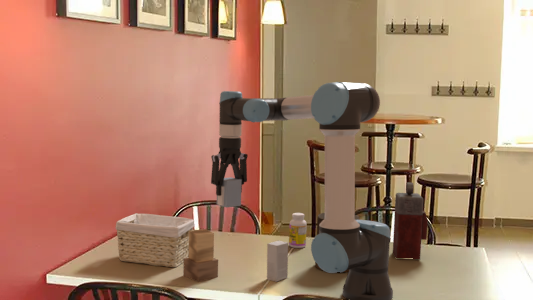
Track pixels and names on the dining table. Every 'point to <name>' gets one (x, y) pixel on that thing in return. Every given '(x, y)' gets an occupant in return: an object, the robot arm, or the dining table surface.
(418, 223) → the red square decanter
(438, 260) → the dining table surface
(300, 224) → the supplement bottle
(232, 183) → the blue block
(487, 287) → the dining table surface
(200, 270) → the base block
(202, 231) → the oak block
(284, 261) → the skincare box
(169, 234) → the storage basket
